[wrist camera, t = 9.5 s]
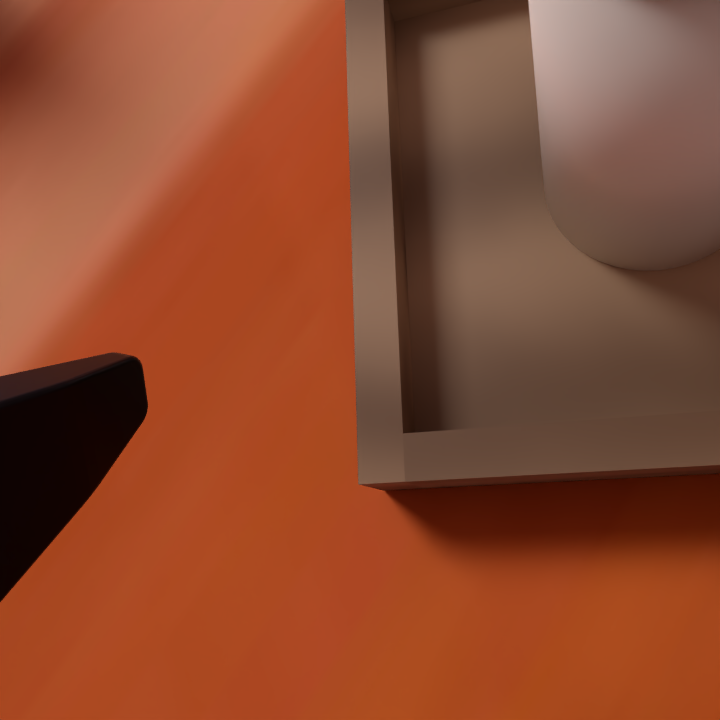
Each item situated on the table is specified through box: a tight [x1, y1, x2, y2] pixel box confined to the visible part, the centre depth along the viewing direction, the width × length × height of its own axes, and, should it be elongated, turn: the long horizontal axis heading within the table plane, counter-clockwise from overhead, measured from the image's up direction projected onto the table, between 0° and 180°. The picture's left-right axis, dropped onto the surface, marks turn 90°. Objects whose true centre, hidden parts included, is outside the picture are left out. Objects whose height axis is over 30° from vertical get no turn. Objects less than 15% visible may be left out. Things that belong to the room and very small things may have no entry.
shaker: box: [528, 0, 720, 271], centre depth 13 cm, size 6×6×12 cm
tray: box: [345, 0, 720, 490], centre depth 18 cm, size 16×16×2 cm
